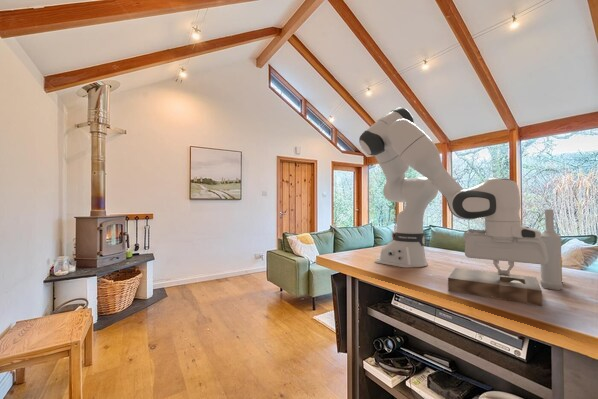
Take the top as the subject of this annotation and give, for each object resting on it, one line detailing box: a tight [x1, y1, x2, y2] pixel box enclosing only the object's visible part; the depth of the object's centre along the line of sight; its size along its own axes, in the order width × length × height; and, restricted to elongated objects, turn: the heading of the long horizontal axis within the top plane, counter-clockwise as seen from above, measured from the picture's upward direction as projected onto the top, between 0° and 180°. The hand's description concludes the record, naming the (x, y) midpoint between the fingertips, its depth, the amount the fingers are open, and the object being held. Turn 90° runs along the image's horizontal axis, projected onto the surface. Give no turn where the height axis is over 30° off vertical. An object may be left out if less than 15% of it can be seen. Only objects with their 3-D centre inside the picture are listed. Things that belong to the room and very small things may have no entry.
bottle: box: [539, 209, 563, 291], centre depth 86 cm, size 5×5×25 cm
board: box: [447, 267, 543, 307], centre depth 84 cm, size 22×16×4 cm
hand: (503, 275), depth 83 cm, fingers closed
